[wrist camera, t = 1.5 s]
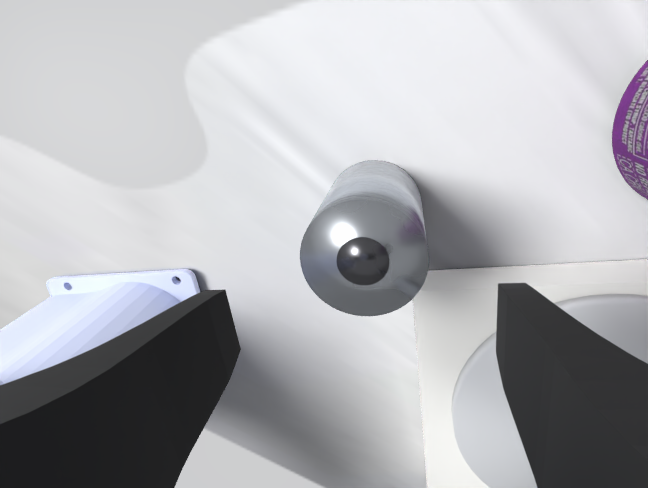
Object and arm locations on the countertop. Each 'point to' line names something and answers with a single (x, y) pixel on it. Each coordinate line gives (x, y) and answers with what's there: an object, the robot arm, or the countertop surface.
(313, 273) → the steel spacer
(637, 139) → the beverage can
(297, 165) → the countertop surface
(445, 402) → the kitchen scale
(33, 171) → the countertop surface
